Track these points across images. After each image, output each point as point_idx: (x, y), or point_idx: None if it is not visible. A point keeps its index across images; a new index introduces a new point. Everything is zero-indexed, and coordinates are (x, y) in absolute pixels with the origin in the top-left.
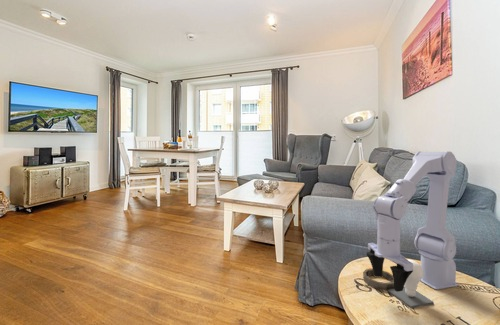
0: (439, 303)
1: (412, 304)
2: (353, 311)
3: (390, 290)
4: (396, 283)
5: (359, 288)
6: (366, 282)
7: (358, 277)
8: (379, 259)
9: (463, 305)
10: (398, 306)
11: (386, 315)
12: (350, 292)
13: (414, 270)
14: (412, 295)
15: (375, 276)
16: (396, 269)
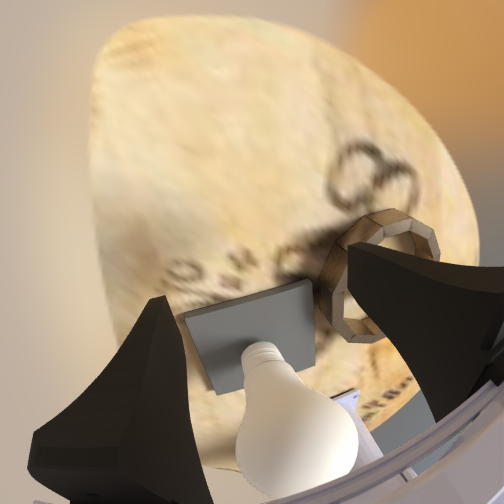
0: (219, 402)
1: (197, 330)
2: (167, 17)
3: (306, 290)
4: (125, 339)
5: (354, 150)
6: (384, 212)
7: (420, 199)
8: (436, 355)
9: (211, 436)
10: (196, 269)
11: (125, 173)
12: (328, 81)
13: (253, 476)
14: (241, 357)
15: (353, 244)
16: (45, 473)
